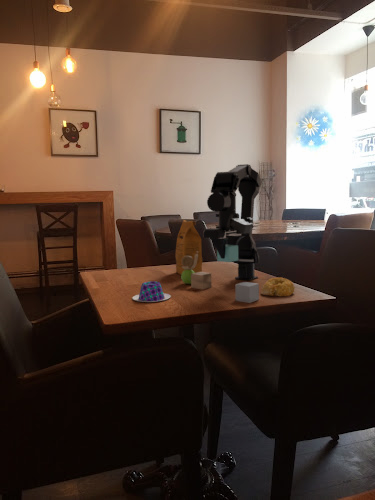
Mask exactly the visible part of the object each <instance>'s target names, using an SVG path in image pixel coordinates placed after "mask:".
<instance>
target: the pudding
mask: <svg viewBox="0 0 375 500" xmlns="http://www.w3.org/2000/svg"><path fill="white" fill-rule="evenodd" d="M171 297H172V295H170V294H169V293H164V291H163V288H162V285H161V282H159V281H153V280H152V281H145V282H142V283H141V285H140V291H139V294H136V295H134V296H132V300H133V301H136V302H142V303H144V302H145V303H156V302H161V301H167V300H168V299H170V298H171Z"/></svg>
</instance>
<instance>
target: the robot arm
mask: <svg viewBox="0 0 375 500" xmlns="http://www.w3.org/2000/svg"><path fill="white" fill-rule="evenodd" d="M261 186H262V180H261V176H260V174H259V172H258V171H256V170H255V169H254V168H252V166H251V164H248V163H247V164H237V165H236V166H235V167H233V168H231V169H230V170H228V171H220V172H219V171H217V172H216V174H215V176H214V177H213V181H212V185H211V188H210V193H211V194H210V195H209V196H208V197H207V200H206V203H207V204H206V205H207V207H208V208H209V210H210V211H212V212H218V213H215V218H218V225H216V226H215V227H212V228H211V227H210V228H205V229H204V230H203V232H202V234H203V235H202V237H203V238H205V239H209V240H211V242H212V243H213V245H214V246H215V248H216V252H217V251H218V253H219V255H220V257H221V258H222V259H224V258H225V246H226V245H238V260H237V261H233V263H234V264H236V263H238V264H237V266H238V267H237V276H235V277H234V279H236V280H245V281H251V280H252V281H253V280H255V279H258V278H259V276H256V275H255V264H260V255H259V252H258V250H257V246H256V245H257V243H256V241H255V240H254V238H253V229H254V227H255V225H254V210H255V199H256V197H257V196H258V194H259V193H260V188H261ZM236 191H238V193H239V194H240V197H241V207H240V208H241V209H240V214H239V213H237V205H236V203H237V202H236V201H237V200H236V199H237V197H236V196H237V193H236ZM226 243H227V244H226Z"/></svg>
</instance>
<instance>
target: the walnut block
mask: <svg viewBox="0 0 375 500" xmlns="http://www.w3.org/2000/svg"><path fill="white" fill-rule="evenodd" d="M190 285H191V289H197V290H206V289H210V288H212V286H213V285H212V273H211V272H206V271H202V272H197V273H193V274H191V284H190Z"/></svg>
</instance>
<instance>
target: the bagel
mask: <svg viewBox="0 0 375 500" xmlns="http://www.w3.org/2000/svg"><path fill="white" fill-rule="evenodd" d="M262 285H263V286H262V288H261V290H260V292H261V295H263V296H267V297H268V296H269V297H274V296H275V297H276V296H277V297H290V296H291V295H293V294H294V292H295V288H296V287H295V284H294V283H293V281H291V280H290V279H287V278H285V277H284V278H283V277H272V278H269V279H268V280H267V281H266V282H265V283H264V284H262Z"/></svg>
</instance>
